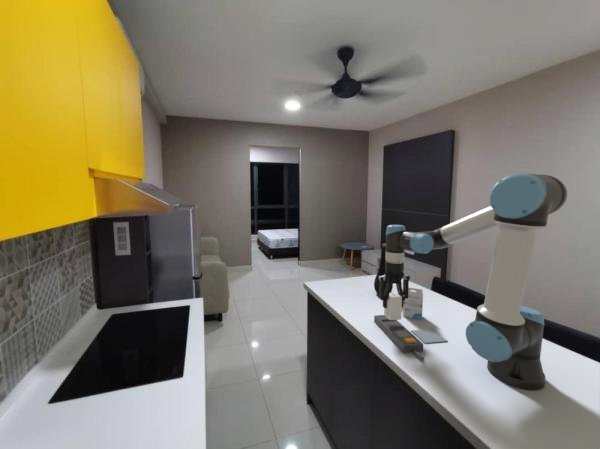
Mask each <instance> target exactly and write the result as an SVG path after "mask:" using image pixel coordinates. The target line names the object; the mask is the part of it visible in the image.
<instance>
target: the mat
mask: <svg viewBox="0 0 600 449" xmlns="http://www.w3.org/2000/svg"><path fill="white" fill-rule="evenodd" d="M410 332H411V333H412V334H413V335H414V336H415V337H416V338H417V339H418V340H420V341H421V342H422V343H423V344H425V345H427V344H435V343H436V344H439V343H448V340H447V339H446V338H445V337H444V336H442V335H441V334H440V333H438V332H437V331H436V330H434V329H433V328H427V329H415V330H413V329H412V330H410Z"/></svg>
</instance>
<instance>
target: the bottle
mask: <svg viewBox="0 0 600 449" xmlns="http://www.w3.org/2000/svg"><path fill="white" fill-rule="evenodd" d="M381 245H382V246H380V247H381V249H380V250H381V251H380V252H381V253H380V260H379V264H378V265H379V266H378V268H377V269H378V270H377V274H376V275H375V278H374V282H373V287H374V288H373V289H374V291H375V292H376V295H377V296H379V279H378V276H383V275H384V273H385V262H386V260H385V256H386V243H382V244H381ZM386 281H387V279H386V278H385V281H384V291H385V287H386ZM393 286H394V284H393V285H392V286H391V290H390V293H392V291H393Z"/></svg>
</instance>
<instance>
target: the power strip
mask: <svg viewBox="0 0 600 449" xmlns="http://www.w3.org/2000/svg"><path fill="white" fill-rule="evenodd" d="M373 318H374V321H373V322H374V323H375V324H376V325H377V327H378V328H379V329H381V331H382V333H384V334H385V335H386V336H387V337H388V338H389V339H390V340H391V341H392V344H394V345H395V346H396V347H397V348H398V349H399V351H401V353H403V354H410V353H411V354H412V353H413V354H415V356H417V358H418V359H420V361H422V362H423V361H425V358H424V356H422V354H421V352H422V353H423V352H424V342H422V341H421V340H420V339H419V338H418V337H417V336H416V335H415V334H413V333H412V332H411V330H409V329H407V328H406V327H405V326H404V325H403V324H402V323H401V322H400V321H399V320H389V319H388V318H387V317H386V316H385V314H380V315H379V314H377V315H374V317H373Z"/></svg>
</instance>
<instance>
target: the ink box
mask: <svg viewBox="0 0 600 449" xmlns="http://www.w3.org/2000/svg"><path fill="white" fill-rule="evenodd" d="M423 305H424V292H423V289H421V288H420V289H419V288H414V287H409V288H408V298H407V299H405V301H404V304H403V307H402V317H406V318H411V319H416V320H420V321H421V320H422V319H423V308H424V307H423Z"/></svg>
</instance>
